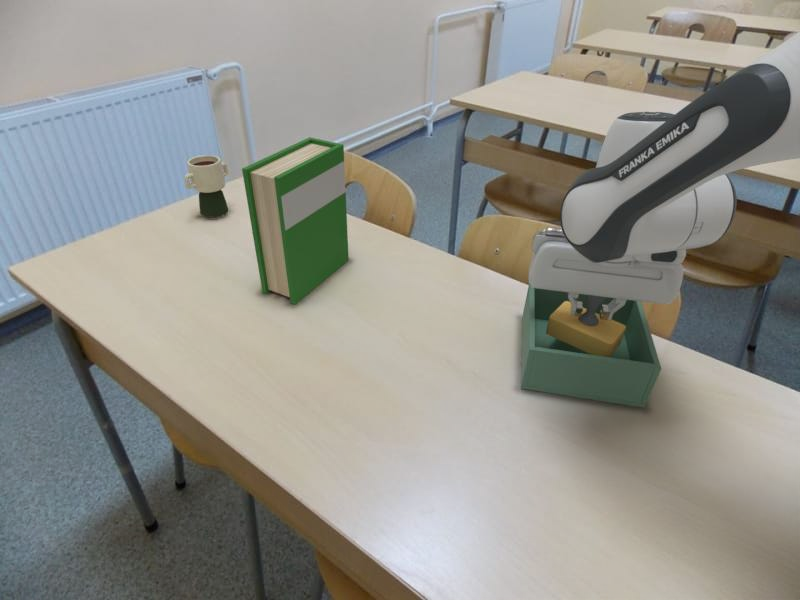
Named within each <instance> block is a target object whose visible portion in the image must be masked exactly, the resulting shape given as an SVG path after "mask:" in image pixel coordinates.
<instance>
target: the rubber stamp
mask: <svg viewBox="0 0 800 600" xmlns="http://www.w3.org/2000/svg"><path fill="white" fill-rule="evenodd" d="M606 298H607V297H601V296H593V295H586V299H587V309H585V308H583V311H582V313H581V314H582V315H581V317H578V316H571V315H570V308H571V303H570V302H569V301H565V302H563V303H562V304H561V305H560V306H559V307H558V308H557V309H556V310H555V311H554V312H553V313H552V314H551V315H550V318H549V322H548V326H547V330H546V334H548V335H550V336H552V337H554V338H557V339H559V340H561V341H563V342H565V343H567V344H569V345H572V346H574V347H576V348H578V349H580V350H582V351H585V352H587V353H589V354H591V355H596V356H603V357H611V356H612V354H613V353H614V352H615V351H616V349H617V348H618V347H619V345H620V344H621V341H622V338H623V335H624V332H625V329H626V326H625V325H624V324H621V323H619V322H616V321H614V320H612V319H611V321H608V320H602V319H600V314H597V313H595V312H596V310H597V308H598V307H599V305H600V304H601V303H602V302H603V301H604V300H605V299H606Z"/></svg>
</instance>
